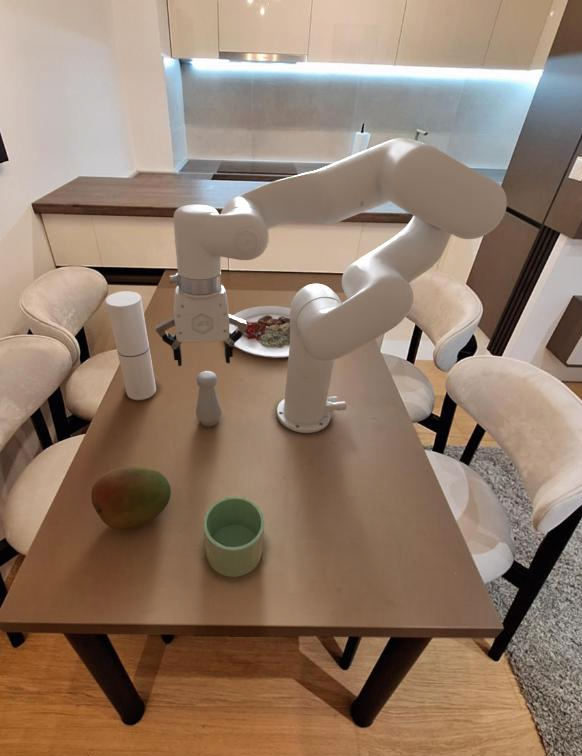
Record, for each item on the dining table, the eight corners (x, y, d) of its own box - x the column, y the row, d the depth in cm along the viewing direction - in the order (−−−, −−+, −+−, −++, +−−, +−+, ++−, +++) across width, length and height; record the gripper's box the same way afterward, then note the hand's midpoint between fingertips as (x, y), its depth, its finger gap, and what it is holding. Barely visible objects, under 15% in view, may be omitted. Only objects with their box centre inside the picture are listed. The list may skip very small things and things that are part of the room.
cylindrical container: (126, 402, 96) (105, 307, 80) (126, 384, 101) (106, 292, 86) (157, 397, 97) (141, 304, 82) (155, 380, 103) (140, 289, 87)
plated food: (340, 350, 116) (342, 340, 114) (244, 370, 107) (244, 360, 105) (295, 305, 138) (296, 296, 136) (212, 319, 129) (211, 309, 127)
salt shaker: (218, 431, 89) (215, 385, 81) (193, 427, 90) (188, 381, 82) (224, 413, 93) (223, 369, 85) (201, 410, 94) (197, 365, 86)
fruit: (89, 511, 72) (75, 475, 66) (149, 473, 79) (141, 437, 73) (122, 555, 66) (110, 520, 59) (184, 510, 73) (179, 474, 66)
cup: (257, 521, 71) (258, 493, 66) (266, 572, 64) (269, 545, 59) (204, 527, 70) (202, 500, 65) (208, 581, 63) (205, 554, 58)
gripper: (148, 292, 67) (160, 374, 77) (251, 289, 69) (248, 369, 80) (151, 274, 72) (161, 353, 83) (245, 272, 75) (243, 348, 85)
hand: (203, 360), depth 81 cm, fingers open, 9 cm apart
